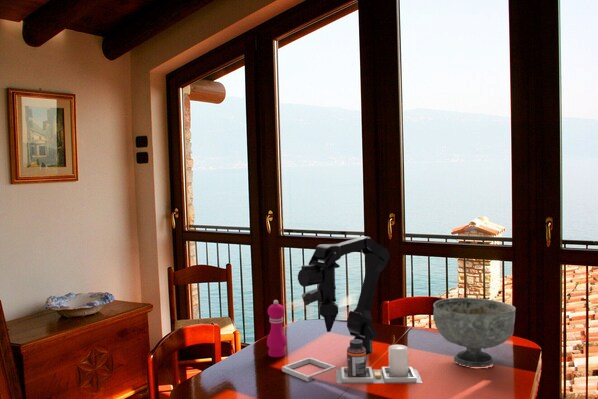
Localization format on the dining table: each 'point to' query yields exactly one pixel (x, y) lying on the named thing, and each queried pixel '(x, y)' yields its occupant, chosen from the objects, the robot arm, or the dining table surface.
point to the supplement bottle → (356, 359)
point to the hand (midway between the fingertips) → (327, 327)
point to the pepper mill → (276, 331)
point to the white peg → (398, 361)
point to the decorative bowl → (474, 326)
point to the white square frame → (289, 367)
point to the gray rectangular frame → (377, 376)
